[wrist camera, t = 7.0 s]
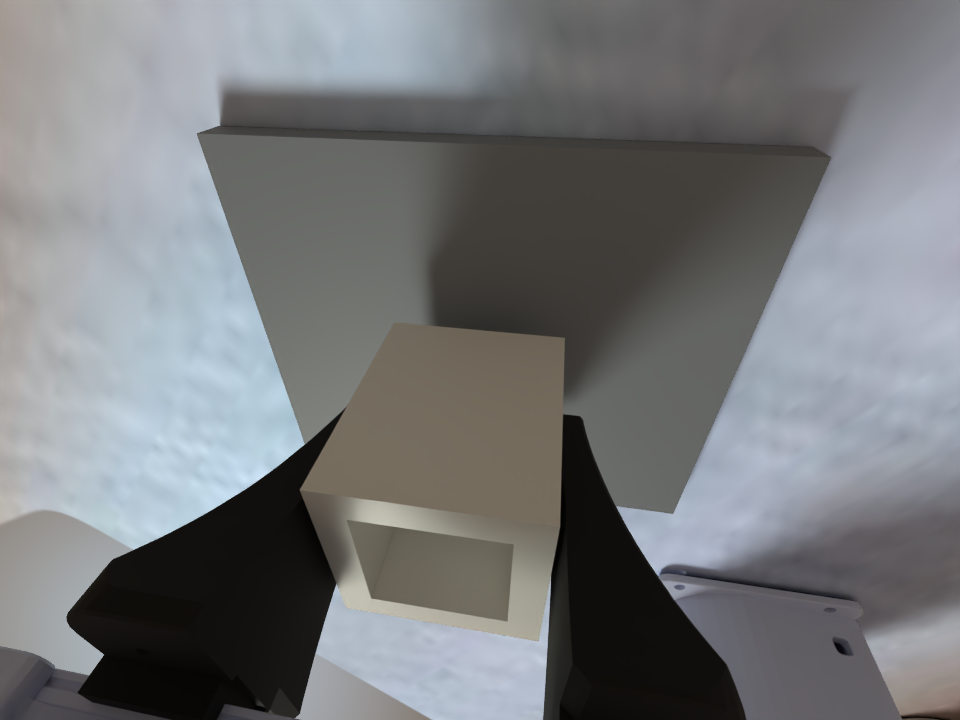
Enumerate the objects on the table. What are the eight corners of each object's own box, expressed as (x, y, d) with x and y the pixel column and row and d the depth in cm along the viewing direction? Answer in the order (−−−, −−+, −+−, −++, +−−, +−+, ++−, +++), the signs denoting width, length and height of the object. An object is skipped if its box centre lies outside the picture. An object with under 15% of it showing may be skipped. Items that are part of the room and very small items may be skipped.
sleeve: (564, 337, 13) (560, 527, 8) (548, 454, 16) (538, 641, 11) (394, 322, 14) (299, 490, 9) (410, 438, 17) (346, 607, 12)
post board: (813, 146, 11) (985, 247, 7) (669, 493, 20) (699, 644, 15) (219, 125, 13) (25, 191, 9) (321, 448, 22) (253, 569, 17)
